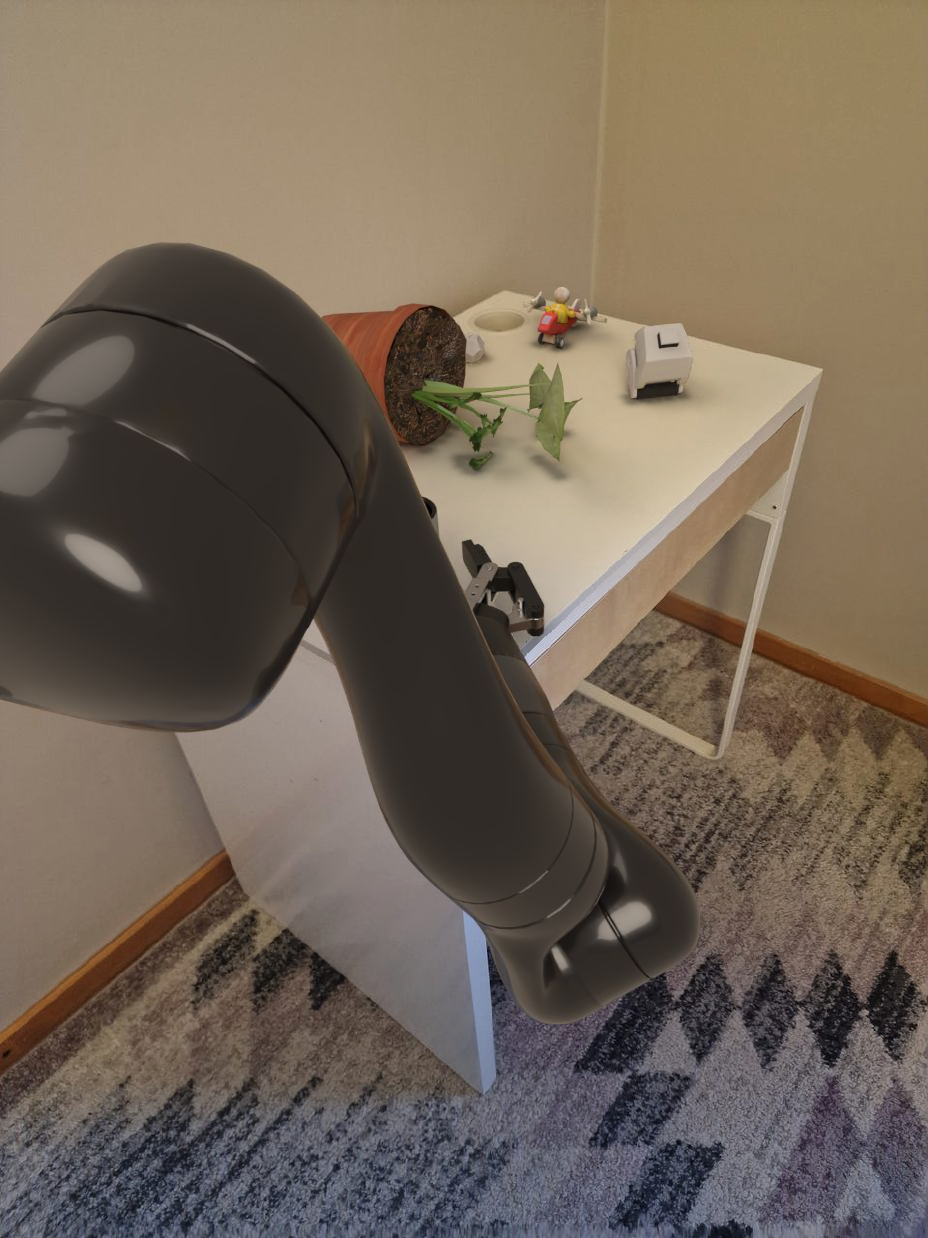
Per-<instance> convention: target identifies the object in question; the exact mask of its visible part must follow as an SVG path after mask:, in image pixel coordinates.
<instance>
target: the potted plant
mask: <svg viewBox="0 0 928 1238" xmlns="http://www.w3.org/2000/svg"><path fill="white" fill-rule="evenodd" d="M320 317H321V316H320ZM321 318H322V319H323V320H324V321H325V322H326V323H327V324H328V325H329V326H330V327H331V328H332V330H333V331H334V332H335V333H336V335H337V336H338V337H339V338H340V340H341V341H342V342H343V344H344V345H345V346H346V348H347V349H348V351H349V352H350V354H351V355H352V357H353V358H354V360H355V361H356V363H357V364H358V366H359V368H360V369H361V371H362V373H363V374H364V376H365V378H366V379H367V381H368V383H369V385H370V386H371V388H372V390H373V392H374V394H375V396H376V397H377V399H378V401H379V403H380V405H381V407H382V409H383V411H384V413H385V415H386V417H387V419H388V421H389V423H390V425H391V427H392V430H393V432H394V434H395V436H396V438H397V441H398V442H402V443H406V444H414V445H421V446H422V445H423V446H424V445H426V444H428V443H430V442H433V441H435V440H436V439H437V438H438V437H439V436H440V435H442V434H443V433H444V432H445V431H446V430H447V428H448V427H449V426H450V423H453V424H455V425H456V426H457V427H459V428H460V430H461V431H462V433H463V434H464V435H465V436H467V437H468V438H469V439H468V441H469V443H471V445H472V449H473V452H477V453H480V450H481V449H483V450H484V449H485V448H484V447H483V446H482V441H483V439H484V438H485V437H486V436H487V435H489V434H491V435H492V438H495V435H496V433H497V430H498V429H499V426H501V425H502V423H504V421H503V418H504V415H505V413H506V411H507V410H508V409H509V410H511V411H514V412H517V413H519V414H522V415H525V416H527V417H530V418H532V419H535V420H537V421H536V422H535V423H534V426H535V427H534V428H535V437H536V438H537V440H538V442H539V443H540V444H541V446H542V448H543V450H545V451H546V452H547V453H549V455H550V456H551V457H553V459H556V461H558V462H560V455H561V442H562V441H563V440H564V439H563V438H564V431H565V425H566V422H567V419H568V416H569V415H570V412H571V411H572V409H573V408H574V407H575V406H576V405H577V403H578V402H580V401H581V400H583V397H581V398H579V399H575V400H572V401H565V389H564V383H563V375H562V372H561V369H560V365H559V362H557V363H556V366H555V369H554V372H553V376H552V379H550V378H549V376H548V375H547V373H546V372H545V370H544V369H545V367H544V366H543V365H542V364H541V363H540V362H538V363H537V364H536V365H535V368H534V369H533V371H532V374H531V375H530V377H529V381H528V383H529V384H518V385H507V386H498V387H497V386H496V387H495V386H494V387H464V386H465V382H466V375H467V374H466V373H467V372H466V371H467V370H466V369H467V367H466V365H467V362H466V354H465V353H466V342H467V340H466V338H465V336H464V335H465V333H464V331H463V330H462V327H461V326H460V325H459V324H458V322H457V321H456V319H454V317H453V316H452V315H451V314H450V313H449V312H448V311H447V310H446V309H444V308H441V307H439V306H436V305H432V304H422V303H408V304H403V305H399V306H397V307H396V308H394V309H393V310H382V311H381V310H380V311H365V312H364V311H361V312H360V311H359V312H343V313H332V314H326V315H322V317H321ZM526 387H528V389H529V393H528V392H527V393H506V394H495V395H494V394H485V393H492V392H502V391H508V390H513V389H520V388H526ZM483 393H484V394H483ZM528 395H529V402H528V403H529V405H528V408H527V409H526V410H527V412H526V411H524V410H521V409H518V408H515V407H513V406H511V405H509V404H510V403H508V404H506V403H503V402H501V401H499V400H496V399H499V398H509V397H518V396H528ZM474 401H479V402H484V403H488V404H491V405H492V404H493V405H495V406H499V407H500V408H499V411H498V412H499V415H498V416H497V417H496V418H493V420H492V421H491V420H490V419H489V418H488V413H486V414H485V413H484V414H482V413H481V412H479V411H477V410H476V409H475V408H473V407H472V406H470V405H469V403H471V402H474ZM459 407H460V408H462V409H464V410H466V411H469V412H471V413H473V414H474V415H475V416H476V417H477V418H478V419H480V421H481V425H482V427H481V426H477V429H475V427H473V426H472V424H470V423H469V422H467V421H466V420H465V419H463V418H461V417H460V416H458V415H457V414H456V413H457V410H458V408H459ZM533 409H539V410H540V412H539V415H538V416H536V415H534V414H531V413H530V411H531V410H533ZM488 453H489V454H488V456H486V455H484V456H483V457H482V458H478V459H476V458H475V457H473V458H470V460H469V461H468V466H469V467H472V470H477V469H478V468H479V467H480V466H482V465H483V464H484V463H485V462H486V461H487V460H488V459H489V458H490V457H492V456H493V454H494V452H493V451H492V450H490V451H489V452H488Z"/></svg>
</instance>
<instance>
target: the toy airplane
mask: <svg viewBox="0 0 928 1238" xmlns="http://www.w3.org/2000/svg"><path fill="white" fill-rule="evenodd" d="M542 294H543V291H542V290H540V291H539V292H538V294H537V295H535V296H533V297H531V299H530V302H523V304H522V307H523V308H526V313H530V312H531V311H532V310H537V311H541V312H544V313H543V314H542V317H541V319H540V322H539V325H538V327H537V332H538V333H539V335H538V336H537V343H538V344H540V345H543V344H544V342H546V343H549V344H553V345H555V344H556V347H557V348H558V349H562V348H563V347H564V345H565V337H564V336H562V335H564V333H566V332H567V331H568V330H569V329H570V328H572V327H573V328H574V327H577V324H578V321H579V322H583V323H587V325H589V326H590V325H591V324H592V322H598V323H601V324H602V323H603V324H607V323H608V318H607V317H603V316H598V314H599V313H598V309H597V308H596V307H595V306H593V305H588V301H587V298H584V299H583V304H584V309H583V310H582V311H583V312H582V311H581V310H580V308H581V303H582V299H581V298H575V300H573V303H572V305H571V307H570V308H569V306H568V305H567V304H566V303H567V302H568V301H569V300H570V297H571V292H570V290H569V289H568V288H567V287H566V286H559V287H557V288H556V289H555V291H554V292H553V299H554V301H555V302H554V303H553V304H552V305H551V306H550V305H547V301H546V299H545V298H544V297H542ZM559 335H560V336H559Z"/></svg>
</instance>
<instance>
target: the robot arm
mask: <svg viewBox="0 0 928 1238" xmlns="http://www.w3.org/2000/svg"><path fill="white" fill-rule="evenodd" d="M408 463H409V462H408V460H407V459H406V456H405V455H404V452H403V450H402V447H401V445H400V442H399V441H397V438H396V436H395V434H394V432H393V430H392V427H391V425H390V423H389V421H388V419H387V417H386V415H385V413H384V411H383V409H382V407H381V405H380V403H379V401H378V399H377V397H376V396H375V394H374V392H373V390H372V388H371V386H370V385H369V383H368V381H367V379H366V378H365V376H364V374H363V373H362V371H361V369H360V368H359V366H358V364H357V363H356V361H355V360H354V358H353V357H352V355H351V354H350V352H349V351H348V349H347V348H346V346H345V345H344V344H343V342H342V341H341V340H340V338H339V337H338V336H337V335H336V333H335V332H334V331H333V330H332V328H331V327H330V326H329V325H328V324H327V323H326V322H325V321H324V320H323V319H322V318H321V316H320V315H319V314H318V313H317V312H316V311H315V310H314V309H313V308H312V306H311V305H309V304H308V303H307V301H305V300H304V299H303V298H302V297H301V296H300V295H299V294H298V293H296V292H295V291H294V290H292V289H291V288H290V287H288V286H287V285H285V284H284V283H282V282H281V281H280V280H279V279H278V278H276V277H274V276H273V275H272V274H270V273H269V272H267V271H266V270H264V269H263V268H261V267H259V266H256V265H255V264H253V263H250V262H249V261H246V260H244V259H242V258H240V257H239V256H236V255H234V254H232V253H230V252H226V251H221V250H217V249H214V248H211V247H207V246H206V247H205V246H202V245H198V244H194V243H191V242H168V241H167V242H166V241H165V242H164V241H163V242H162V241H161V242H155V243H150V244H146V245H142V246H137V247H133V248H129V249H125V250H123V251H122V252H119V253H117V254H115V255H114V256H112V257H111V258H109V259H108V260H106V261H105V262H104V263H103V264H101V265H99V266H98V267H97V268H96V269H95V270H94V271H93V272H92V273H91V274H90V275H88V276H87V277H86V279H84V280H83V281H82V282H81V283H80V284H79V285H78V287H76V288H75V290H73V292H72V293H71V294H70V295H69V296H68V297H67V298H66V299H65V300H63V302H62V303H61V304H60V305H59V306H58V307H57V309H55V311H54V312H53V313H52V314H51V315H49V317H48V318H47V319H46V320H45V322H43V324H42V325H40V327H39V328H38V329H37V330H36V331H35V333H33V335H32V336H31V337H30V338H29V339H28V340H27V342H26V343H25V344H24V345H23V346H22V347H21V348H20V349H19V350H18V352H17V353H16V354H14V356H13V357H12V358H11V359H10V361H9V362H8V363H7V364H6V365H5V366H4V367H3V368H2V369H1V370H0V700H1V701H5V702H9V703H12V704H15V705H19V706H24V707H27V708H32V709H36V710H39V711H43V712H48V713H52V714H55V715H60V716H64V717H65V716H66V717H69V718H74V719H79V720H83V721H87V722H92V723H96V724H101V725H105V726H111V727H118V728H123V729H128V730H135V731H143V732H146V731H147V732H154V733H181V734H182V733H198V732H207V731H215V730H219V729H222V728H224V727H228V726H230V725H233V724H236V723H239V722H241V721H243V720H244V719H246V718H247V717H249V716H250V715H252V714H253V713H254V712H255V711H257V710H258V709H259V708H260V706H261V705H262V704H263V703H264V702H265V700H266V699H267V698H268V697H269V695H271V693H272V692H273V690H275V688H276V686H277V685H278V684H279V682H280V681H281V680H282V678H283V676H284V675H285V673H286V672H287V669H288V668H289V666H290V665H291V663H292V661H293V659H294V657H295V655H296V653H297V651H298V650H299V648H300V645H301V643H302V640H303V639H304V637H305V634H307V633H306V632H307V630H309V628H310V626H311V625H312V622H314V624H315V625H316V627H317V629H318V631H319V633H320V635H321V637H322V639H323V641H324V644H325V646H326V648H327V651H328V653H329V655H330V657H331V660H332V663H333V665H334V666H335V667H334V668H335V669H336V671H337V674H338V677H339V680H340V683H341V685H342V688H343V691H344V695H345V697H346V700H347V703H348V706H349V709H350V710H349V711H350V714H351V716H352V720H353V724H354V727H355V731H356V732H355V733H356V735H357V739H358V743H359V746H360V750H361V753H362V758H363V760H364V764H365V769H366V771H367V775H368V778H369V781H370V785H371V787H372V790H373V793H374V796H375V798H376V801H377V804H378V807H379V810H380V813H381V814H382V816H383V820H384V821H385V824H386V825H387V828H388V829H389V831H390V833H391V835H392V837H393V838H394V840H395V842H396V844H397V845H398V847H399V848H400V850H401V851H402V853H403V854H404V856H405V857H406V859H407V860H408V861H409V862H410V863H411V865H412V866H413V867H414V868H415V869H416V870H417V871H418V872H419V873H420V874H421V875H422V876H423V877H424V878H425V879H426V880H427V881H428V882H429V883H430V884H432V886H434V887H435V888H436V889H437V890H439V892H441V893H442V894H443V895H444V896H445V897H447V898H448V899H449V900H450V901H451V902H453V903H454V904H455V905H456V906H457V907H459V909H461V910H462V911H463V912H464V913H465V914H467V916H469V917H470V918H472V920H474V922H475V924H476V925H477V926H478V927H479V929H480V930H481V932H482V933H483V935H484V937H485V939H486V941H487V943H488V947H489V949H490V952H491V956H492V959H493V962H494V965H495V967H496V969H497V972H498V974H499V978H500V979H501V981H502V984H503V985H504V987H505V990H507V992H508V994H509V996H510V998H511V999H512V1000H513V1002H514V1003H515V1004H516V1005H517V1007H518V1008H519V1009H520V1010H521V1011H522V1012H523V1013H524V1014H526V1016H528V1017H530V1019H533V1020H535V1021H536V1022H539V1023H542V1024H547V1025H557V1026H559V1025H569V1024H572V1023H573V1024H574V1023H576V1022H579V1021H581V1020H583V1019H585V1018H587V1017H589V1016H591V1015H593V1014H594V1013H596V1012H598V1011H600V1010H602V1009H603V1008H605V1006H607V1005H609V1004H612V1003H613V1002H615V1001H617V1000H618V999H620V998H622V997H624V996H625V995H627V994H629V993H631V992H632V991H634V990H635V989H637V988H639V987H641V986H643V985H644V984H646V983H648V982H650V981H651V979H655V978H657V977H659V976H660V975H662V974H664V973H665V972H667V971H669V970H671V969H672V968H674V967H676V966H677V965H679V964H680V963H682V962H683V961H685V960H686V959H687V958H689V956H691V954H692V953H693V952H694V950H695V949H696V947H697V944H698V942H699V939H700V936H701V935H700V933H701V929H702V927H701V910H700V905H699V902H698V898H697V895H696V892H695V890H694V889H693V886H692V885H691V882H690V881H689V879H688V877H687V876H686V875H685V873H684V872H683V871H682V869H681V868H680V867H679V866H678V864H677V863H676V862H675V861H674V860H673V859H672V858H671V857H670V856H669V855H668V853H666V852H665V851H664V850H663V848H661V847H660V846H659V845H658V844H657V843H656V842H655V841H653V839H651V837H649V836H648V835H646V833H645V832H643V831H642V830H641V829H639V827H637V826H636V825H635V824H634V823H632V821H630V820H629V819H628V818H627V817H626V816H625V815H624V814H623V813H621V812H620V810H618V809H617V807H616V806H615V805H613V804H612V803H611V802H610V800H608V798H607V797H605V795H604V794H603V793H602V792H601V791H600V790H599V788H598V787H597V786H596V784H595V783H594V782H593V780H592V779H591V777H590V776H589V775H588V773H587V772H586V771H585V769H584V767H583V766H582V764H581V762H580V761H579V759H578V757H577V756H576V754H575V752H574V750H573V748H572V747H571V745H570V743H569V741H568V740H567V738H566V736H565V735H564V732H563V731H562V729H561V727H560V726H559V723H558V721H557V720H556V719H557V718H556V716H555V714H554V711H553V707H552V704H551V703H550V700H549V698H548V696H547V694H546V693H545V691H544V689H543V687H542V685H541V683H540V682H539V680H538V678H537V676H536V675H535V673H534V671H533V670H532V668H531V667H530V665H529V662H528V661H527V659H526V658H525V656H524V654H523V652H522V651H521V649H520V647H519V645H518V644H517V641H516V639H515V638H514V637H513V635H512V634H513V633H517V632H522V631H526V632H527V634H528V635H529V636H531V637H536V638H537V637H540V636H542V635H544V633H545V603H544V601H543V600H542V598H541V595H540V594H539V592H538V590H537V588H536V587H535V585H534V583H533V581H532V578H531V577H530V575H529V573H528V571H527V570H526V568H525V566H524V564H523V563H522V562H520V561H512V562H509V563H508V564H507V566H498V564H497V563H495V562H493V561H492V559H491V557H490V556H489V554H488V552H487V551H486V549H485V547H484V546H483V545H481V544H480V543H476V544H475V542H474V541H473V540H472V539H471V538H470V539H465V540H462V541H461V552H462V560H463V561H462V562H463V564H464V566H465V568H466V569H467V571H468V573H469V575H470V577H471V581H470V582H469V584H468V586H467V589H466V590H464V589H463V586H462V584H461V582H460V580H459V578H458V577H459V576H458V575H457V573H456V571H455V568H454V567H453V565H452V561H451V560H450V558H449V556H448V553H447V551H446V548H445V547H444V545H443V542H442V541H441V537H440V535H439V536H438V534H437V531H436V529H435V527H434V524H433V522H432V520H431V517H430V515H429V513H428V510H427V508H426V506H425V503H424V501H423V499H422V497H423V496H422V494H421V491H420V489H419V487H418V484H417V482H416V480H415V478H414V476H413V473H412V470H411V467H410V466H409V464H408ZM439 537H440V538H439ZM505 592H506V593H507V594H508V595H509V598H510V599H511V602H512V604H513V605H512V609H511V610H512V612H511V613H510V614H507V613H506V612H505V611H504V610H502V609H499V608H497V607H495V606H494V603H495V601H496V599H497V598H498V595H499V593H505Z"/></svg>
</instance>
